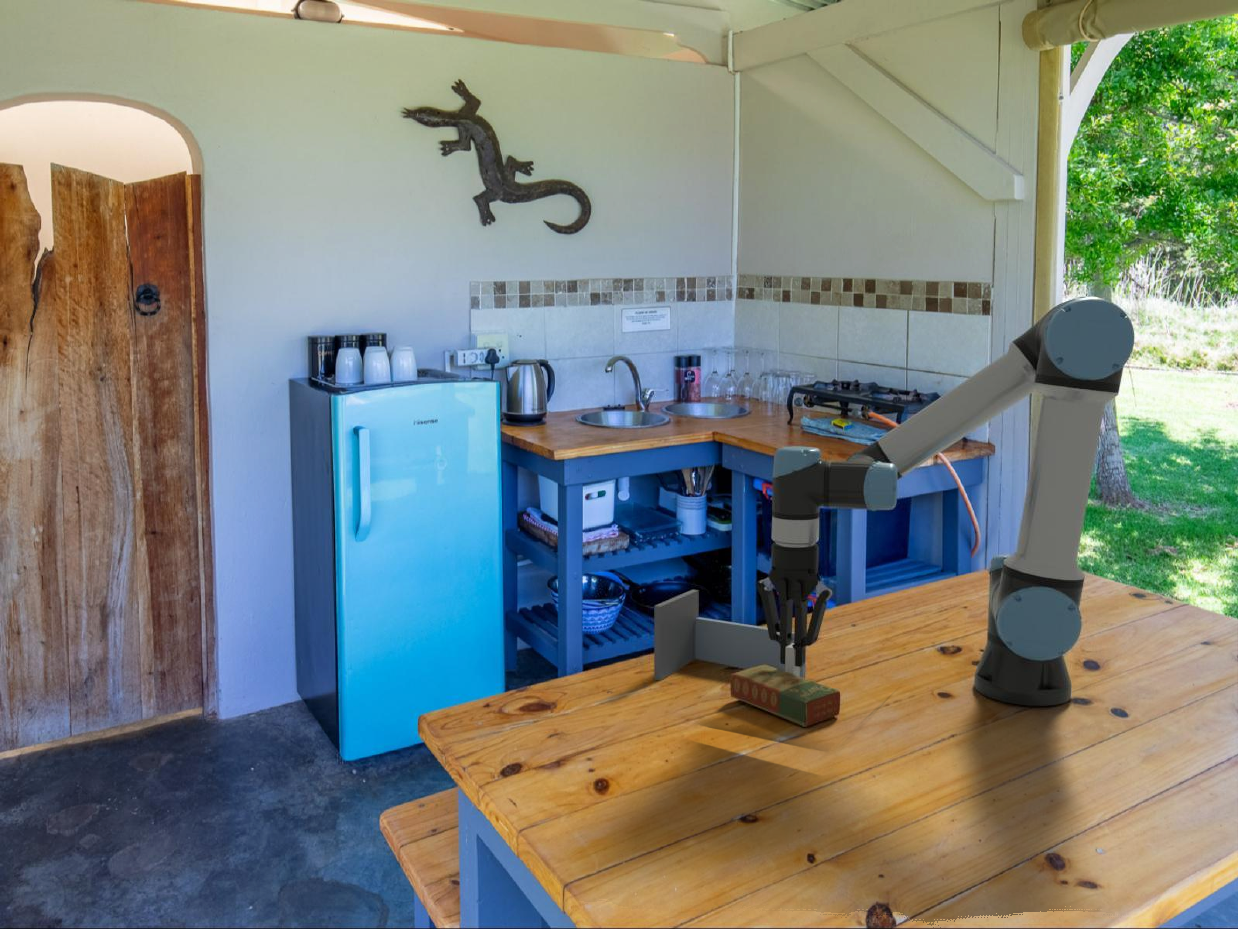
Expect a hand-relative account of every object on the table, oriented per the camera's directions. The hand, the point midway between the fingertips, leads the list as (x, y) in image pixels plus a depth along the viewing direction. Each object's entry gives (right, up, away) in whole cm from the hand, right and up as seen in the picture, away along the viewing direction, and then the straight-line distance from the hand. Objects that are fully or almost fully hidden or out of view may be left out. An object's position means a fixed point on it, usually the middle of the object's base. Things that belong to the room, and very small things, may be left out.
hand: (792, 684), depth 173 cm
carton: (-6, -4, -1) cm, 8 cm away
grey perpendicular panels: (-9, -1, +9) cm, 13 cm away
